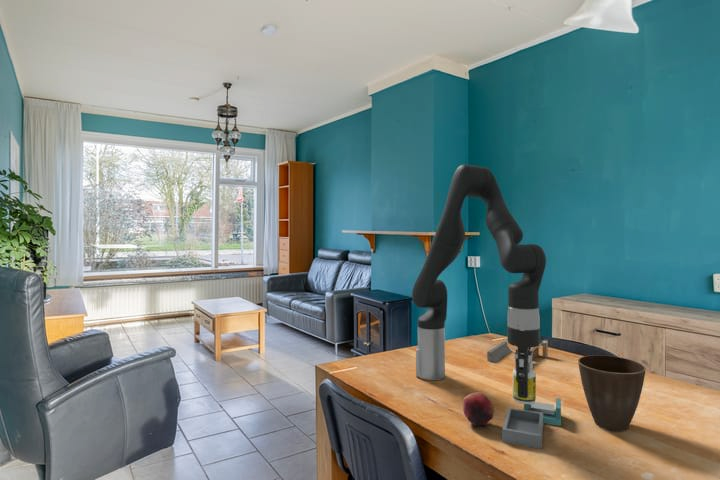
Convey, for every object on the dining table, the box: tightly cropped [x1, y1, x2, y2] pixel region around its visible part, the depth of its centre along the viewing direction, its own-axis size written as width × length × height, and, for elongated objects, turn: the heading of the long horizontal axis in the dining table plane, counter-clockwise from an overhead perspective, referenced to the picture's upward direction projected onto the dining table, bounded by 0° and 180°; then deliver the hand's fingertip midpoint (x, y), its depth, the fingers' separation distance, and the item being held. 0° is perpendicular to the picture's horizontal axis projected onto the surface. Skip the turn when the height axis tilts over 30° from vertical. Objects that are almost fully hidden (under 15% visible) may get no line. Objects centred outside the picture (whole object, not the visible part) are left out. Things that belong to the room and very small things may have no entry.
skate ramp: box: [486, 339, 549, 363], centre depth 165 cm, size 29×35×8 cm
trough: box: [501, 407, 544, 450], centre depth 107 cm, size 9×14×3 cm, turn 155°
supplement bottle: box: [512, 361, 537, 405], centre depth 107 cm, size 5×5×10 cm
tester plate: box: [530, 401, 555, 415], centre depth 116 cm, size 6×4×1 cm
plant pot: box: [577, 354, 646, 432], centre depth 111 cm, size 15×15×16 cm
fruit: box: [462, 391, 495, 427], centre depth 112 cm, size 8×8×8 cm
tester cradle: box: [523, 397, 562, 427], centre depth 116 cm, size 9×7×4 cm
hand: (523, 392), depth 107 cm, fingers closed on supplement bottle, 5 cm apart
